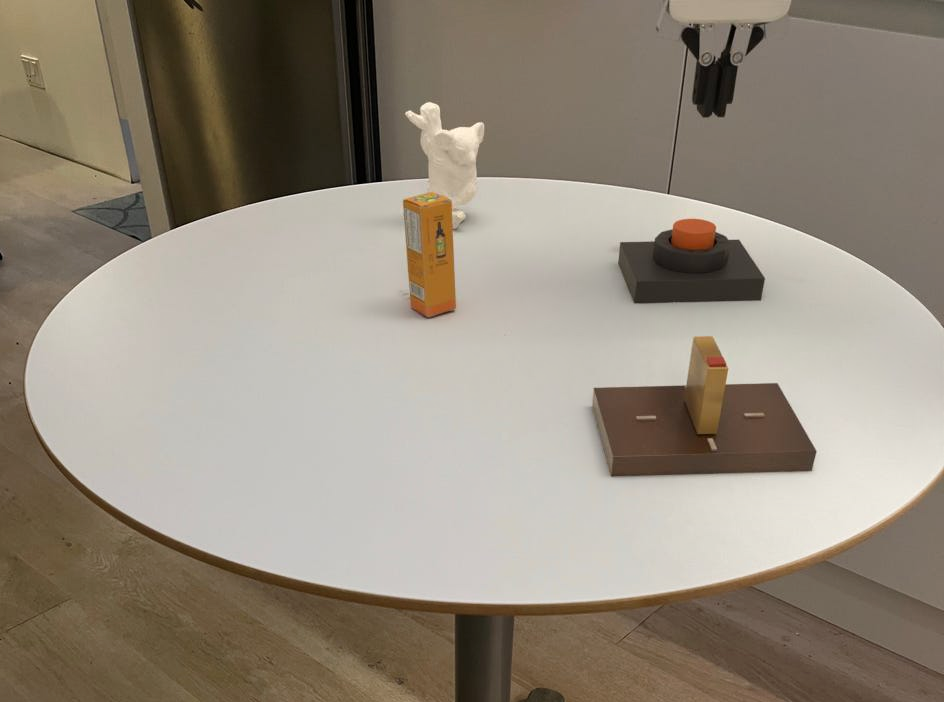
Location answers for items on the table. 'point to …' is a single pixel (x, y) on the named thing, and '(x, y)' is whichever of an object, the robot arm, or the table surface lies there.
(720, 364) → the red-tipped yellow slab
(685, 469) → the plate
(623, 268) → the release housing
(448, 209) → the supplement box
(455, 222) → the white animal figurine
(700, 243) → the button
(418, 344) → the table surface
